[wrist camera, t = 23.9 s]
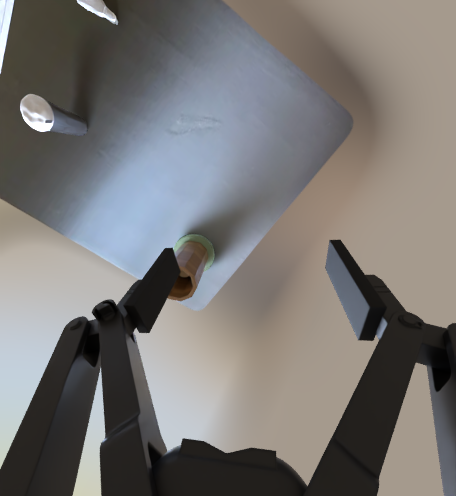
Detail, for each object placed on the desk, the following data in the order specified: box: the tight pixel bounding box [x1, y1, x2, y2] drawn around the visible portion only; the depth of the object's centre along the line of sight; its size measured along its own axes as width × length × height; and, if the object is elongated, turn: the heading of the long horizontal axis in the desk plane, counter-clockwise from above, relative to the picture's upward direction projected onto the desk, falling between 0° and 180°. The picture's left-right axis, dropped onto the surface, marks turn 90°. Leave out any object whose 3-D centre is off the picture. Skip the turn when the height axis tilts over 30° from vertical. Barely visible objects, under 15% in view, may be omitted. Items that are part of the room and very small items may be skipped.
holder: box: [174, 234, 215, 277], centre depth 40 cm, size 9×9×9 cm
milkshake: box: [20, 94, 88, 136], centre depth 32 cm, size 4×5×10 cm
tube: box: [168, 241, 208, 301], centre depth 37 cm, size 6×7×12 cm
